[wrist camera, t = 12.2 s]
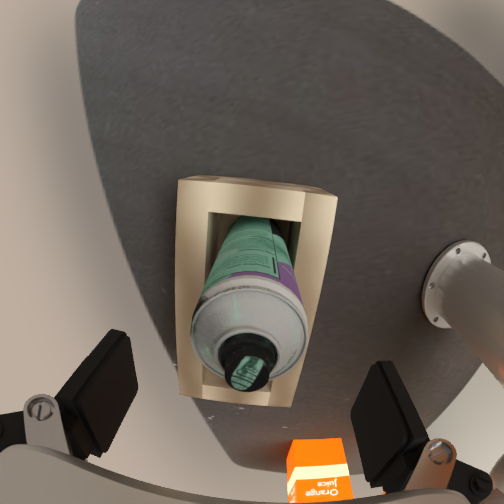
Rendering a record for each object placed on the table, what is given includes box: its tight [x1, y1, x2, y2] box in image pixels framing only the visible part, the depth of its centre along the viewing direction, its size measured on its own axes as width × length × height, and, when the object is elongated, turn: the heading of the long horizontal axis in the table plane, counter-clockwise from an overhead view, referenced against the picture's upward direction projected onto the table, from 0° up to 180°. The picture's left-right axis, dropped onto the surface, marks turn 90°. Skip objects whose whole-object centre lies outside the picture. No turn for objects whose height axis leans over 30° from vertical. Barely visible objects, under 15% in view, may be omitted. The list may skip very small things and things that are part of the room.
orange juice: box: [287, 438, 354, 503], centre depth 32 cm, size 8×9×20 cm
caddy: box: [175, 175, 338, 407], centre depth 28 cm, size 12×22×8 cm, turn 174°
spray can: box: [190, 215, 308, 392], centre depth 19 cm, size 6×6×20 cm
